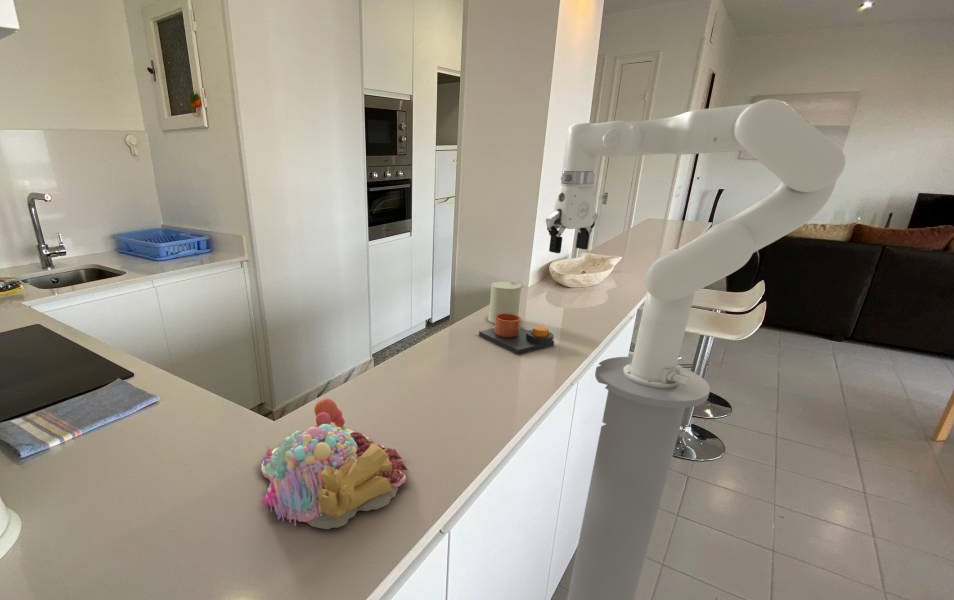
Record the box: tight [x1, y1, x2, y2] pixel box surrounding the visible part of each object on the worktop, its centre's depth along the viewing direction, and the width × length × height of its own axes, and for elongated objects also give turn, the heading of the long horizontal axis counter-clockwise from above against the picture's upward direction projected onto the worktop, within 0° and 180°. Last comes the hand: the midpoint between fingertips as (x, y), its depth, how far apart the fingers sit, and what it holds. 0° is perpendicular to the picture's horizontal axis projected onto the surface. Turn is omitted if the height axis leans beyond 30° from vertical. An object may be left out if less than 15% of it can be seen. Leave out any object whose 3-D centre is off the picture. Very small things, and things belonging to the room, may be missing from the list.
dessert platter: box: [260, 397, 408, 530], centre depth 77 cm, size 25×24×9 cm
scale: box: [478, 326, 555, 356], centre depth 134 cm, size 16×14×3 cm
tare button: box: [532, 325, 549, 337], centre depth 131 cm, size 4×4×2 cm
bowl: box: [494, 313, 522, 337], centre depth 135 cm, size 7×7×5 cm
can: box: [487, 280, 523, 325], centre depth 149 cm, size 9×9×12 cm
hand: (568, 250), depth 122 cm, fingers open, 9 cm apart
